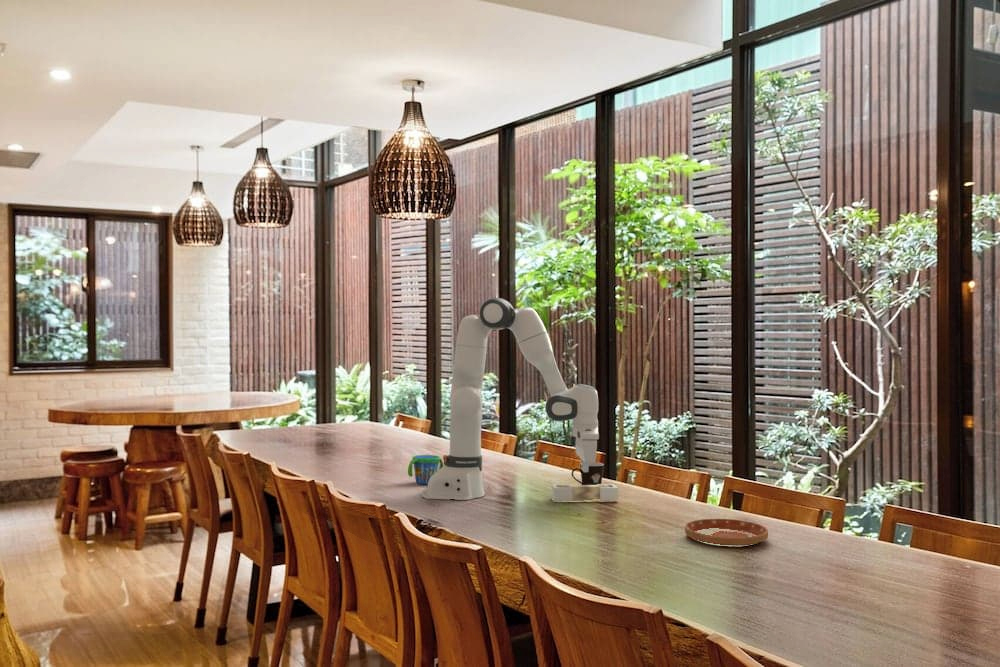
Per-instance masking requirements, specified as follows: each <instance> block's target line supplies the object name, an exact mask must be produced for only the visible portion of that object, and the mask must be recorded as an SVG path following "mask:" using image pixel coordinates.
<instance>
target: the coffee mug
mask: <svg viewBox="0 0 1000 667" xmlns="http://www.w3.org/2000/svg"><path fill="white" fill-rule="evenodd" d="M604 466H605V464H604V463H602V462H596V461H595V462H590V463H589V471H588V472H583V471H582V469H581V462H580V463H579V467H580V468H578V467H575V468H573V469H572V471H571V476H572V478H573V479H574V480H575V481H576V482H578V483H579V484H580V485H597V484H602V483H603V482H602V481H603V472H604ZM576 470H577V471H579V472H580V476H581V477H580V478H581V481H580V480H579V479H577V478H576V477H575V476H574V473H575V471H576Z"/></svg>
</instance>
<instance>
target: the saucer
mask: <svg viewBox="0 0 1000 667" xmlns="http://www.w3.org/2000/svg"><path fill="white" fill-rule="evenodd" d="M709 528H719V529H730V530H738V531H743V532H748V533H752V534H754V535H756V536H752V537H748V535H746V534H742V533H737V532H730V531H729V532H727V531H725V532H724V531H719V532H716V533H713V534H711V535H712V536H711V535H705V534H701V533H697V532H695V531H698V530H702V529H709ZM684 532H685V534H686V536H688V537H689V538H691V539H692V538H694V539H696V540H699V541H702V542H707V543H713V544H720V545H750V544H756V543H759V542H761V543H762V542H764V541H766V540H767V539H768V537H769V530H768V528H767V527H765V526H764V525H762V524H759V523H755V522H751V521H746V520H741V519H733V518H732V519H729V518H704V519H703V518H701V519H696V520H693V521H692V520H691V521H690V522H689V521H688V522H687V523H686V524H685V525H684ZM759 544H760V543H759Z"/></svg>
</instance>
